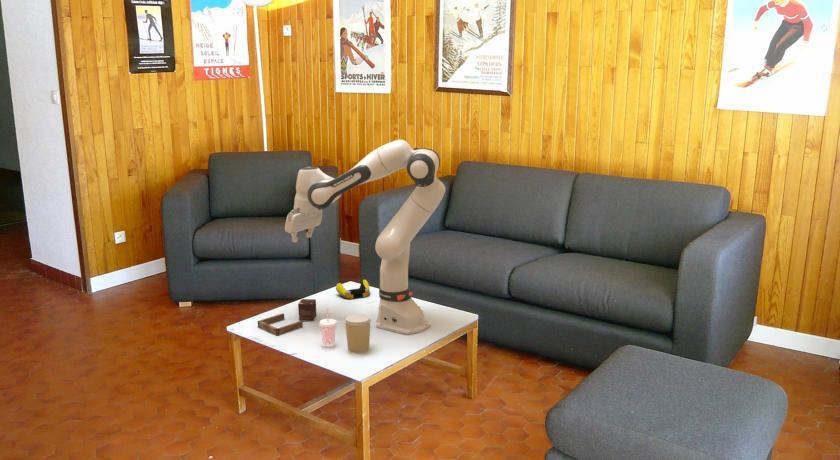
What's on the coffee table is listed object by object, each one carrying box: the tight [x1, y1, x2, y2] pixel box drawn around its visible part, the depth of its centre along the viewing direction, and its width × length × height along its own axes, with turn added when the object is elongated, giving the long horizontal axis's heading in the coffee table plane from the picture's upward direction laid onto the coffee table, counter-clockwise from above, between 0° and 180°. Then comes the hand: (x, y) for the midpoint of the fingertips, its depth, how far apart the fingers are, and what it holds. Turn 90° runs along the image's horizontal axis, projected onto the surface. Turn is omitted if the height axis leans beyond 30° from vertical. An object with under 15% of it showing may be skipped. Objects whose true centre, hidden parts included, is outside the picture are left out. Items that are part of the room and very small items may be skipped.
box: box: [297, 298, 317, 322], centre depth 297 cm, size 6×6×7 cm
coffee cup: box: [344, 313, 372, 354], centre depth 267 cm, size 9×9×12 cm
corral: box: [257, 313, 303, 336], centre depth 288 cm, size 13×12×2 cm
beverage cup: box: [319, 308, 337, 348], centre depth 270 cm, size 6×6×14 cm
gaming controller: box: [335, 279, 370, 300], centre depth 325 cm, size 15×6×10 cm
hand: (301, 239), depth 293 cm, fingers open, 8 cm apart
